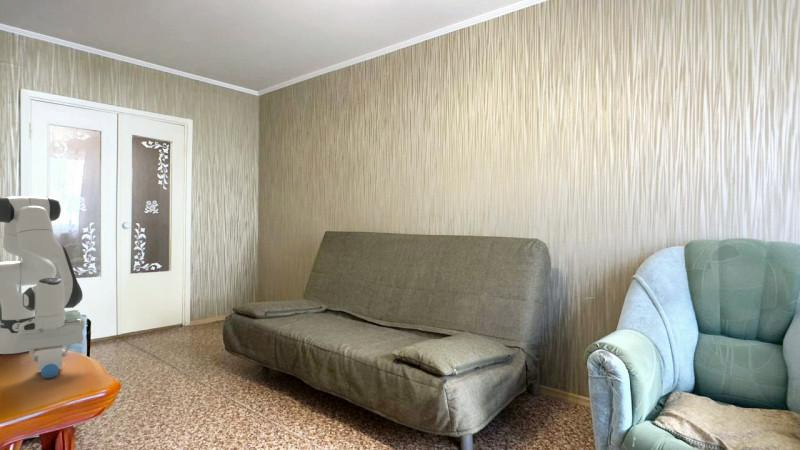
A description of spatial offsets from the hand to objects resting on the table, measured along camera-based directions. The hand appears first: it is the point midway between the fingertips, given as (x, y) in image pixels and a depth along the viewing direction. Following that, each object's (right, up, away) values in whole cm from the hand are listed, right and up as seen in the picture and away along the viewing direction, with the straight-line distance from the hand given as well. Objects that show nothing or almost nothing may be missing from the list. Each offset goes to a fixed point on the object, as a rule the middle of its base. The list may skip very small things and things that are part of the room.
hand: (50, 358), depth 165 cm
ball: (+5, -3, -6) cm, 8 cm away
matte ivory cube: (0, -3, 0) cm, 3 cm away
